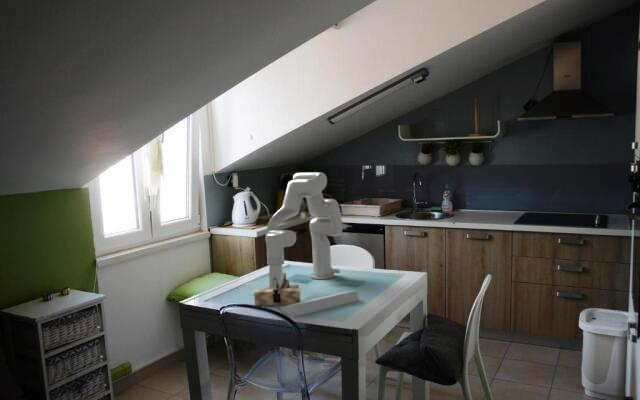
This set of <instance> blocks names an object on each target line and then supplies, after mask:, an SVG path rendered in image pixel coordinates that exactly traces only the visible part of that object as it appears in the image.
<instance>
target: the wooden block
mask: <svg viewBox="0 0 640 400" xmlns="http://www.w3.org/2000/svg"><path fill="white" fill-rule="evenodd" d="M253 292H254V306H278V305H279V306H280V305H282V306H283V305H284V306H287V305H291V304H295V303H299V302H301V288H300V287H299V288H289V289H280V298H281V302H280V303H274V302H273V289H269V288H261V289H257V288H256V289H255V290H254V291H253Z"/></svg>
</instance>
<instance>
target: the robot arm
mask: <svg viewBox="0 0 640 400" xmlns="http://www.w3.org/2000/svg"><path fill="white" fill-rule="evenodd" d="M327 184H328V178H327V176H326V173H324V172H321V171H320V172H318V171H313V172H311V171H309V172H307V171H305V172H296V173H295V174H293V176H292V180H289V181H288V183H287V186H286V190H285V194H284V198H283V201H282V204H281V205H282V206H281V207H280V209H278V210H277V211H276V212H275V213H274V214H273V215H272V217H271V218H270V219H269V221H268V224H267V226H266V230H265V236H264V241H265V243H266V263H267V266H269V268H268V272H269V273H268V274H269V275H268V278H269V284H268V285H269V287H270V288H271V287H272V286H273V302H274V303H280V302H281V298H280V289H281V284H282V281H283V274H282V273H283V265H285V251H284V248H288V247H293V246H294V245H295V244H296V242H297V235H296V233H295V231H293V230H289V229H278V227H279V226H280V225H281V224H282V223H283V222H284V221H286V220H289V219H290V218H294V217H295V216H296V215H298V214H299V212H300V210H301V205H302V202H303V198H305V199H306V203H307V208H308V212H309V215H310V216H312V217H314V218H312V219H311V220H310V221H309V232H310V236H311V250H312V269H313V271H312V273H311V274H310V278H312V279H315V280H327V279H333V278H334V277H335V274H340V273H341V271H340V270H341V269H338V268H333V267H332V256H331V242H330V240H329V238H328V237H338V236H341V234H342V232H343V230H344V229H343V220H342V214H341V209H340V205H339V203H338V201H337V200H336V199H334V198H324V195H323V193H322V191H323V190H324V189H325V188H326V187H327ZM269 287H268V288H269Z"/></svg>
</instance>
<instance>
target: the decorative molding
mask: <svg viewBox="0 0 640 400" xmlns="http://www.w3.org/2000/svg"><path fill="white" fill-rule="evenodd" d="M358 301H360V299H359V293H358V290H348V291H346V290H345V291H341V292H339V293H338V292H337V293H333V294H329V295H326V296H322V297H321V296H320V297H316V298H313V299H307V300H305V301H300V302H299V303H295V304H286V305H284V306H283V305H282V306H280V311H282V312H281V313H284V314H286V315H288V316H289V315H290V316H289V317H291V318H296V317H300V316H304V315H307V313H308V314H311V313H310V312H312V313H315V311H316V312H320V311H324V310H326V309H330V308H335V307H339V306H343V305H346V304H350V303H355V302H358ZM319 310H320V311H319ZM303 314H304V315H303ZM299 315H300V316H299ZM295 316H296V317H295Z"/></svg>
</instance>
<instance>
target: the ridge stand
mask: <svg viewBox="0 0 640 400" xmlns="http://www.w3.org/2000/svg"><path fill="white" fill-rule="evenodd" d="M282 274H283V281H282V284H281V289H289V288H300V286H299V284H290V280H289V279H287V273H286V272H282ZM268 289H273V286H272V287H271V288H270V287H268Z"/></svg>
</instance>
